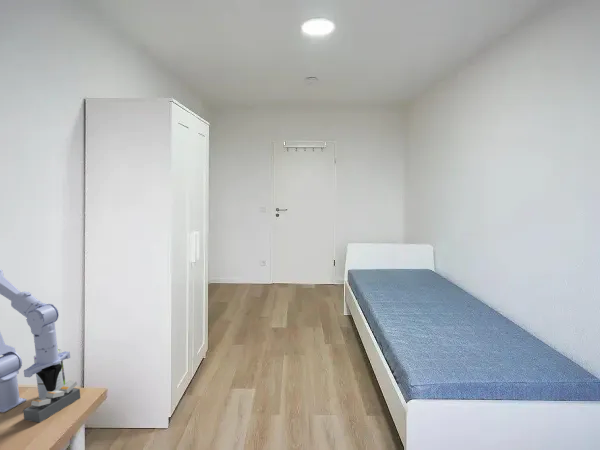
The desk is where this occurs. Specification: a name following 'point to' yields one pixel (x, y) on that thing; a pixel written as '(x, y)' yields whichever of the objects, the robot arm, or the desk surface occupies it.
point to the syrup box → (59, 384)
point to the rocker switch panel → (51, 406)
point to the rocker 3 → (68, 386)
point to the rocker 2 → (55, 394)
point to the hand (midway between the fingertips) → (51, 390)
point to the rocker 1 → (40, 402)
